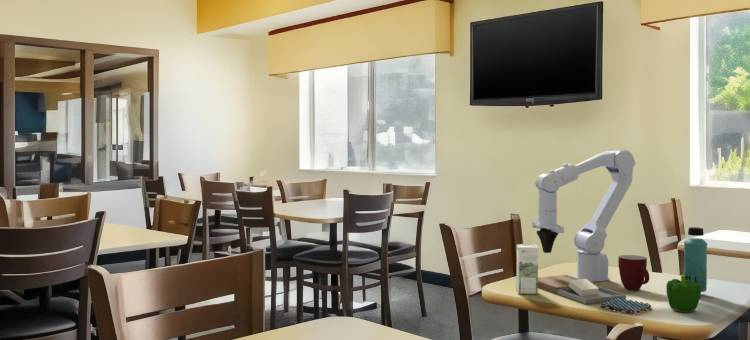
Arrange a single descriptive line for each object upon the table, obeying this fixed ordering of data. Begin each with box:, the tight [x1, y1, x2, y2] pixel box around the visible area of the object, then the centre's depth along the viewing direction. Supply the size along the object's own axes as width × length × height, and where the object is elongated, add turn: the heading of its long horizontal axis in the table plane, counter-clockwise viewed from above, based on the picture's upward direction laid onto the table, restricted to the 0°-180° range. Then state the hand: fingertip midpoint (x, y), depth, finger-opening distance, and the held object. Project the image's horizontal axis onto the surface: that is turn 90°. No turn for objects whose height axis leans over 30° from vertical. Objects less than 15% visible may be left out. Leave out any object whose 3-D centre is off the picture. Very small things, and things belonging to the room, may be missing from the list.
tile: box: [569, 279, 599, 296], centre depth 197 cm, size 6×6×2 cm
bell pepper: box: [665, 274, 702, 313], centre depth 178 cm, size 8×8×10 cm
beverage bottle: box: [682, 226, 708, 293], centre depth 195 cm, size 6×7×20 cm
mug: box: [617, 254, 650, 292], centre depth 201 cm, size 10×8×10 cm
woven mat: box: [599, 298, 653, 316], centre depth 180 cm, size 10×11×2 cm
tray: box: [556, 284, 627, 305], centre depth 193 cm, size 14×13×2 cm
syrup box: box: [515, 243, 539, 296], centre depth 199 cm, size 6×6×14 cm
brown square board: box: [538, 274, 596, 295], centre depth 206 cm, size 14×14×2 cm
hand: (547, 252), depth 214 cm, fingers closed
